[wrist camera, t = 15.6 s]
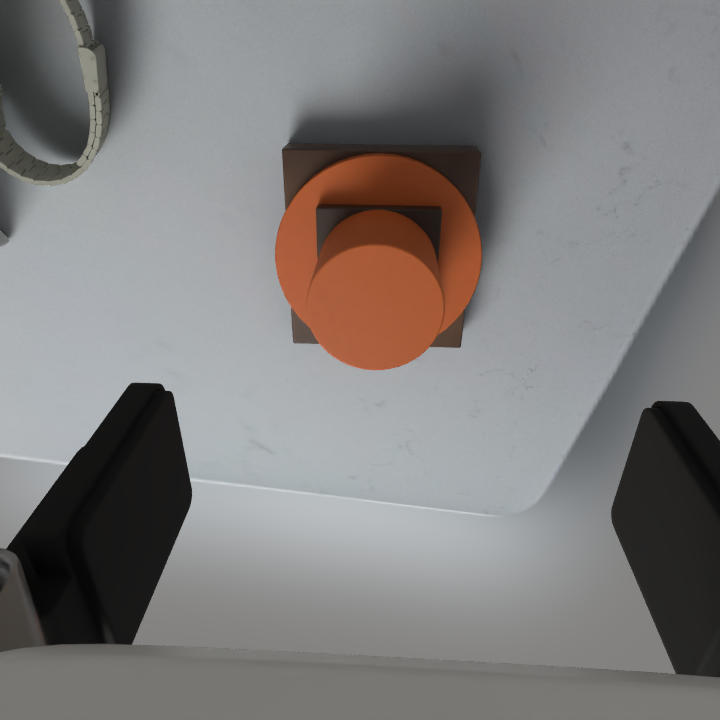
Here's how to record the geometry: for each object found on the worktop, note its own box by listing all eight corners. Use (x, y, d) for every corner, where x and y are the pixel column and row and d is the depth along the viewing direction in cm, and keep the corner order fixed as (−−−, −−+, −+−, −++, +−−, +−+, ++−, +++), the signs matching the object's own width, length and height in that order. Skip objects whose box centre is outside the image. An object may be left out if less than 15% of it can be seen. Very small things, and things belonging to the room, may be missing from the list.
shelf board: (286, 143, 27) (281, 148, 26) (477, 145, 27) (482, 151, 26) (296, 331, 32) (292, 343, 31) (458, 335, 32) (460, 348, 31)
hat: (270, 151, 26) (239, 181, 21) (492, 154, 26) (518, 186, 20) (283, 345, 31) (261, 409, 26) (469, 350, 31) (486, 417, 25)
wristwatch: (-46, -57, 24) (-142, -77, 20) (104, -50, 24) (41, -68, 19) (11, 169, 28) (-57, 194, 24) (137, 176, 28) (91, 202, 24)
